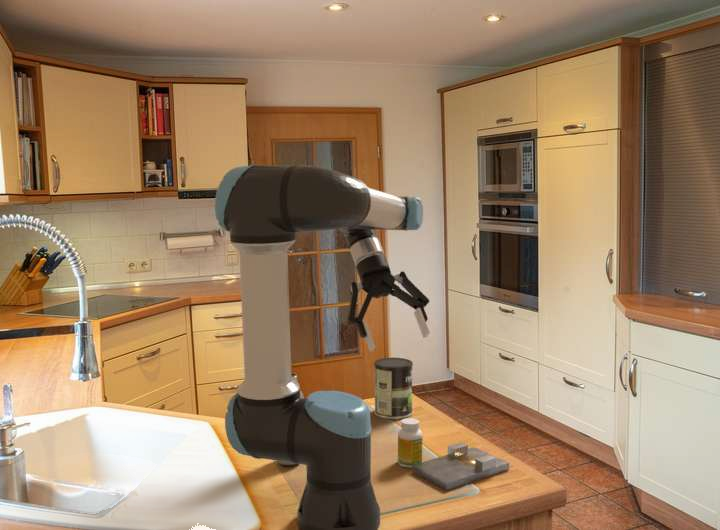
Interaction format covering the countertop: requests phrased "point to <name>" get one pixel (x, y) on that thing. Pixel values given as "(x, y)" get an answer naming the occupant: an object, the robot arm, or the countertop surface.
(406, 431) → the supplement bottle
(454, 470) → the hinge plate
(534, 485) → the countertop surface
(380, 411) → the coffee can
